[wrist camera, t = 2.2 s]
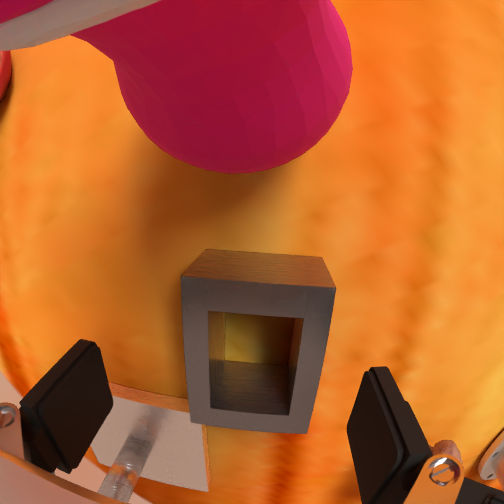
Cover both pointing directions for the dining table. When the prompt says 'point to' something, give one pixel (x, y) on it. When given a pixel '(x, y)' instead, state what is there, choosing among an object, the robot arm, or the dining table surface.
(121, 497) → the keeper
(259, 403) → the grey rectangular frame
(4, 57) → the liquor
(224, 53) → the pepper mill
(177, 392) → the dining table surface
